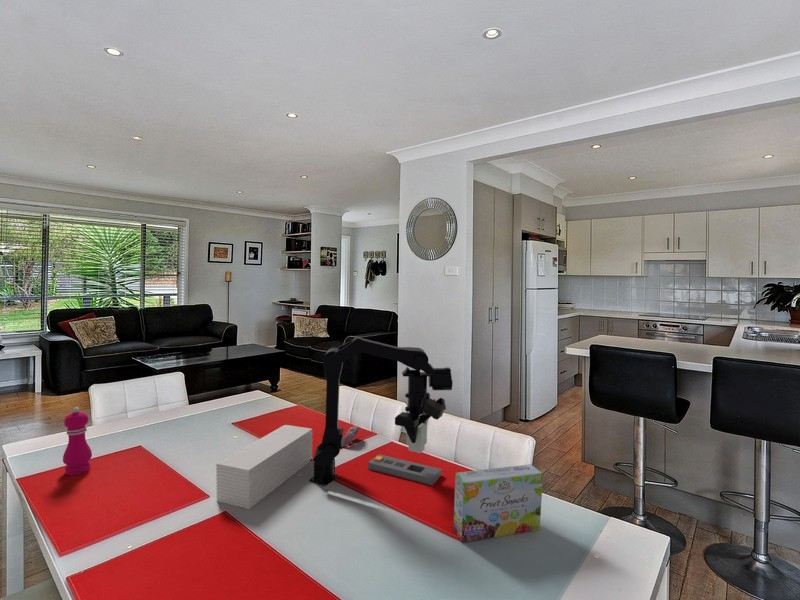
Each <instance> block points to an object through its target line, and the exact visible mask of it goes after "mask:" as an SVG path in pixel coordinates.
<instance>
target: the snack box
mask: <svg viewBox="0 0 800 600" xmlns="http://www.w3.org/2000/svg"><path fill="white" fill-rule="evenodd" d="M543 478H544V473H543V472H542V471H540V470H539V469H538V468H537V467H535V466H534V465H533V464H524V465H523V464H522V465H513V466H504V467H496V468H487V469H478V470H468V471H461V472H460V471H459V472H455V477H454V479H455V480H454V502H453V503H454V506H453V507H454V508H453V531H454V533H455V532H456V533H457V535H458V536H459V538H460V539H459V538H458V539H459V541H460V540H461V541H460V542H461V544H462V543H467V542H468V543H469V542H474V541H480V540H487V539H493V538H498V537H506V536H507V537H508V536H510V535H519V534H525V533H530V532H537V531H540V530H541V515H542V514H541V513H542V500H543V499H542V497H543V482H544V481H543V480H544V479H543ZM456 533H455V534H456ZM457 535H456V536H457ZM458 536H457V537H458Z"/></svg>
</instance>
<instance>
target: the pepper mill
mask: <svg viewBox="0 0 800 600" xmlns="http://www.w3.org/2000/svg"><path fill="white" fill-rule="evenodd" d="M88 423H89V416H88V414H87V413H86V412H84V411H81V410H80V408H79V407H77V406H76V407H73V408H72V412H70V413H69V414H68V415H66V416H65V417H64V421H63V424H64V427H66V435H68V442H67V446H66V449H65V450H64V453H63V456H62V463H63V464H64V465H65V467H64V470H65V471H64V472H65V473H64V474H66V475H67V476H75V475H80V474H84V473H86V472H89V470H90V469H91V462H90V460H91V458H92V457H93V452H92V449H91V446H90V445H89V444H88V443H87V440H86V432H87V431H88V429H87V428H88V427H87V424H88Z"/></svg>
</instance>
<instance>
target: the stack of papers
mask: <svg viewBox="0 0 800 600" xmlns="http://www.w3.org/2000/svg"><path fill="white" fill-rule="evenodd" d="M311 459H312V460H313V428H309V427H302V426H297V425H296V426H295V425H290V424H284V425H282V426H280V427H279V428H276V429H274V431H272V432H269V433H268V434H266V435H264V436H262V437H261V438H259V439H257V440H256V441H253V442H252V443H250V444H248V445H246V446H245V447H243V448H241V449H240V450H238V451H236V452H234V453H232V454H231V455H229V456H227V457H226V458H223V459H222V460H220V461H218V462H216V464H215V467H216V472H215V473H216V475H215V476H216V478H215V479H216V502H217V503H218V502H219V503H222V504H227V505H230V506H231V505H232V506H236V507H239V508H240V507H241V508H244V509H248V510H250V509H251V508H252V507H253V506H255V505H256V504H257V503H259V502H260V501H261V500H262V499H264V498H265V497H267V495H269V494H270V493H271V492H272V491H274V490H275V489H276V488H278V487H279V486H280V485H281V484H283V483H284V482H285V481H287V480H288V479H290V478H291V477H292V476H293V475H294V474H295V473H297V472H298V471H300V470H301V469H302V468H303V467H305V466H306V465H308V463H310V462H311V461H312V460H311ZM310 460H311V461H310Z"/></svg>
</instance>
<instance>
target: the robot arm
mask: <svg viewBox="0 0 800 600" xmlns="http://www.w3.org/2000/svg"><path fill="white" fill-rule="evenodd" d="M358 353H364V354H367V355H371V356H376V357H381V358H385V359H389V360H393V361H396V362H399V363H400V364H403V365H404V366H406V368H405V369H404V370H403V371H402V372H401V374H402V377H404V378H405V377H406V378H407V380H408V381H407V393H405V394H404V395H405V398H407V406H405V408H404V411H402V412H401V413H399V414H397V415H396V416H395V417H394V425H395V426H399V427H404V430H405V432H406V434H407V433H408V436H409V438H410V440H411V442H412V443H415V442H416V437H417V430H418V426H420V425H421V424H422V423H425V424H427V421H428V420H429V419H430V418H432V419H434V420H439V419H440V418H441V417H443V414H444V413H445V410H446V409H447V407H446V402H445V401H446V400H445V399H444V398H443V397H439V398H438V399H437V400H436V399H435V398H433V399H432V398H431V394H430V393H429V392H428V387H429V388H431V389H432V391H452V390H453V379H452V378H453V377H452V369H451V368H450V367H433V366H432V364H431V363H429V356H428V354H427V353H426V351H425V350H424V349H422V348H420V347H411V346H402V347H401V346H396V345H391V344H387V343H383V342H379V341H375V340H370V339H366V338H364V337H362V336H356V337H354V338H353V339H352V340H350V341H348V342H346V343H344V344H342V345H340V346H339V347H331V348H329V349H328V350H327V351H326V352H325V354H324V356H323V358H322V363H323V364H322V365H323V372H324V377H325V380H326V388H325V389H326V392H325V394H326V395H325V397H326V398H325V424H324V425H325V426H324V430H323V431H324V432H323V435H322V440H321V442H320V443H319V444H318V445H317V447H316V448H315V452H314V454H313V457H312V462H313V476H312V477H310V478H309V481H310V482H313V483H316V484H319V485H323V486H328V485H329V484H331V483H332V482H333V481H335V480H337V479H338V478H339V474H336V459H335V458H336V457H338V456H339V454H340V451H341V450H343V447H344V446H343V442H344V439H343V438H344V436H343V435H344V430H345V428H344V427H343V428H341V427H340V425H339V413H340V412H339V411H340V410H339V408H340V407H339V406H340V404H339V403H340V378H341V374H342V370H343V364H344V363H345V362H346V361H348V360H349V359H351V358H352V357H353V356H355V355H356V354H358ZM410 368H411V369H410Z"/></svg>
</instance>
